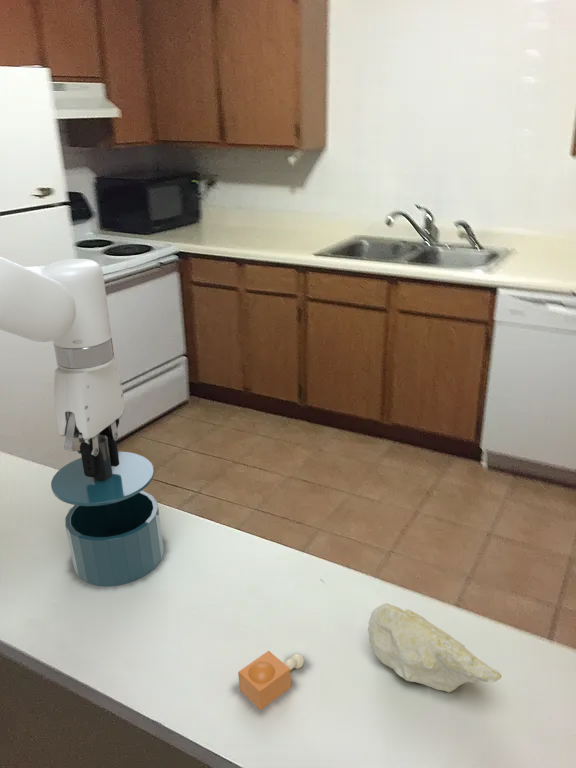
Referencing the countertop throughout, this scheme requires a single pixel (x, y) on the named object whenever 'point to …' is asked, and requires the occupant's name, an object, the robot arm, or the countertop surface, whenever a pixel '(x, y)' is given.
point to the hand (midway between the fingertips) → (102, 469)
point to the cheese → (423, 651)
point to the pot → (115, 540)
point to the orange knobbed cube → (267, 678)
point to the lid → (112, 488)
